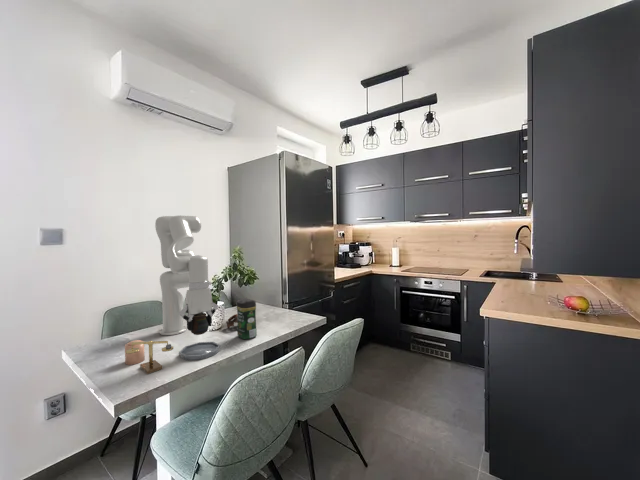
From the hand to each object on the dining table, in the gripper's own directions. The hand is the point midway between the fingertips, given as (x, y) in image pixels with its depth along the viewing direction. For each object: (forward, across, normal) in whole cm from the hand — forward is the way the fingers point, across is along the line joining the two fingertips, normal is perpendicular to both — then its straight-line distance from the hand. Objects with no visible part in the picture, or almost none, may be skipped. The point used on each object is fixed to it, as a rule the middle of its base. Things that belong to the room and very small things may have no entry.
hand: (199, 327), depth 117 cm
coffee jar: (+11, -24, -1) cm, 26 cm away
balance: (+10, +18, 0) cm, 21 cm away
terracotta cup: (+10, +20, -12) cm, 26 cm away
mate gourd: (+3, 0, 0) cm, 3 cm away
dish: (+10, 0, 0) cm, 10 cm away
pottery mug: (+11, -28, -18) cm, 35 cm away
